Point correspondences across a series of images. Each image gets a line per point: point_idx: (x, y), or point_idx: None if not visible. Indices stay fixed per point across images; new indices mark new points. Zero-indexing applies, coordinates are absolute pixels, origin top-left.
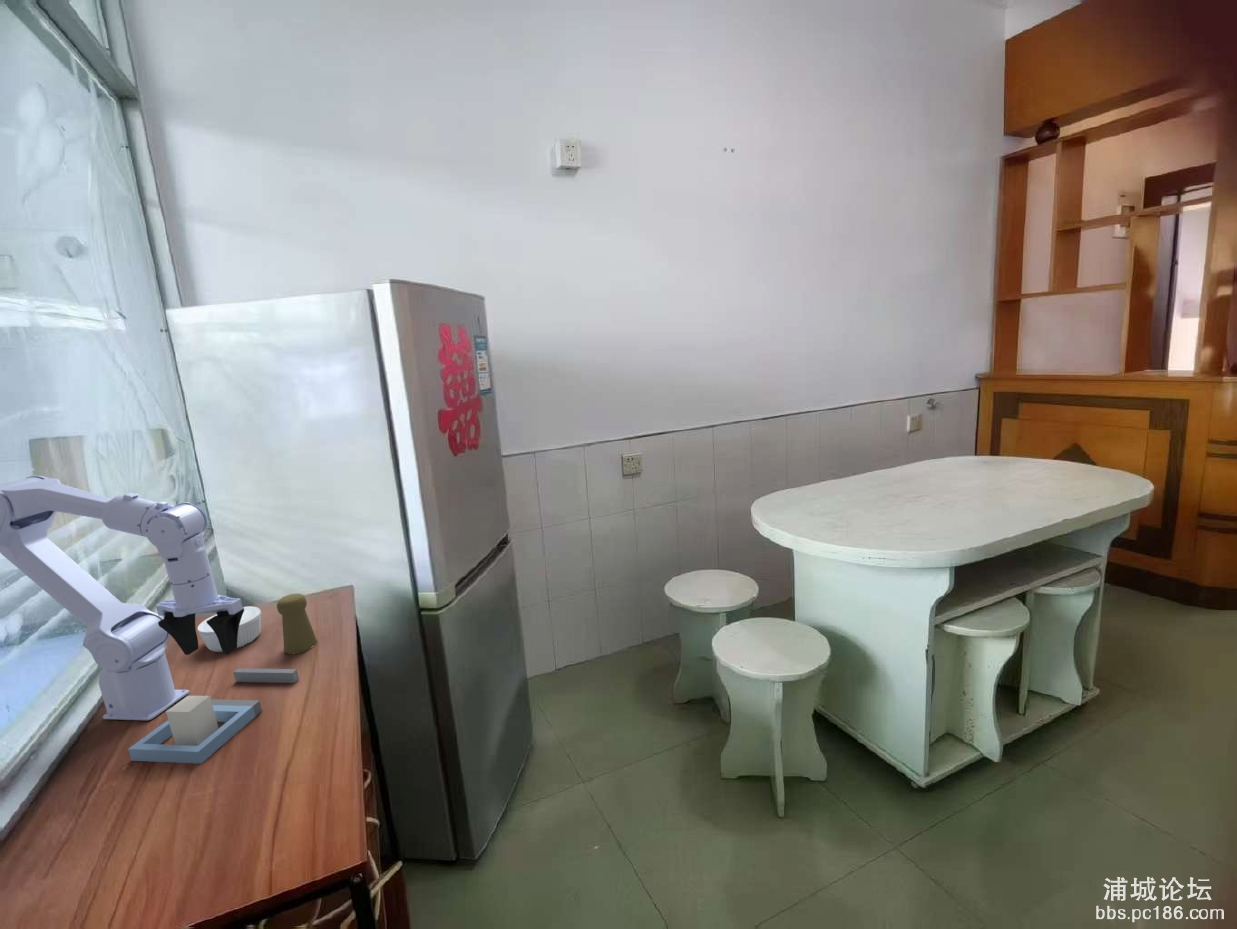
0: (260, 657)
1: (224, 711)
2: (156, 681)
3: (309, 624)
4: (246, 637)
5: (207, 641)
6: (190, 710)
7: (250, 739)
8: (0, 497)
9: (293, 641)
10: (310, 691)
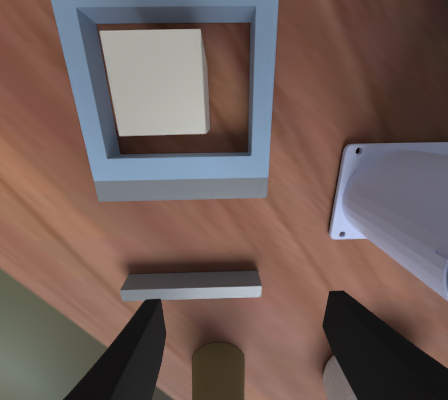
0: (270, 332)
1: (148, 157)
2: (395, 209)
3: None
4: (332, 375)
5: None
6: (102, 41)
7: (41, 100)
8: None
9: (209, 371)
10: (70, 254)
